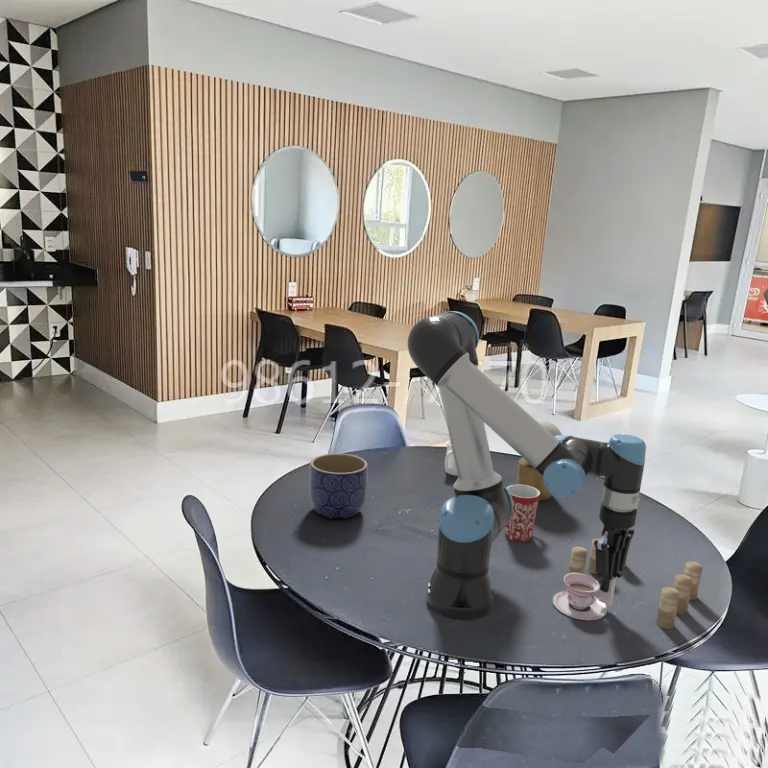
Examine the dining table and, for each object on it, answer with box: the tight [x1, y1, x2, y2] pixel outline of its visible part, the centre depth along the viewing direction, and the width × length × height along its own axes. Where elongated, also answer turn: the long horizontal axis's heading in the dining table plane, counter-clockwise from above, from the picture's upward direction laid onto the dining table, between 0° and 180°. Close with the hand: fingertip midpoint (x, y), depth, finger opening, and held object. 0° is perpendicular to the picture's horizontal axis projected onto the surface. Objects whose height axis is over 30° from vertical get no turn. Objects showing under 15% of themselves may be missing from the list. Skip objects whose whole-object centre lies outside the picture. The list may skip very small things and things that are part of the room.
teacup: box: [552, 572, 608, 621], centre depth 156 cm, size 12×12×6 cm
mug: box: [504, 483, 540, 543], centre depth 189 cm, size 13×9×14 cm
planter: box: [308, 453, 369, 519], centre depth 198 cm, size 16×17×15 cm
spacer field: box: [568, 538, 703, 630], centre depth 164 cm, size 20×27×8 cm
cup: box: [444, 440, 458, 477], centre depth 233 cm, size 8×12×10 cm
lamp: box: [515, 419, 563, 502], centre depth 215 cm, size 15×14×25 cm
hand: (605, 602), depth 156 cm, fingers closed
